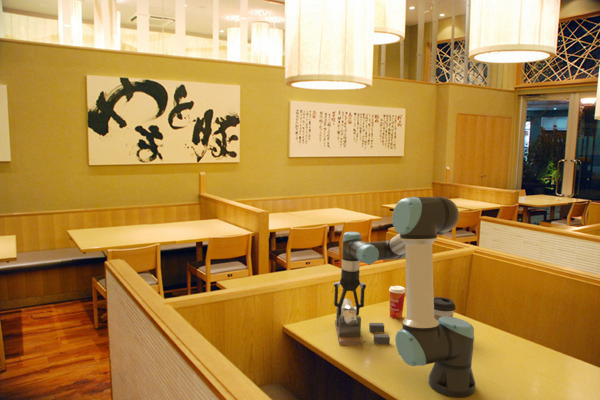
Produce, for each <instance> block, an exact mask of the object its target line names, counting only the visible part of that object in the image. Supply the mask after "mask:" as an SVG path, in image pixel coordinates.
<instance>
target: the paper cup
mask: <svg viewBox="0 0 600 400" xmlns="http://www.w3.org/2000/svg"><path fill="white" fill-rule="evenodd" d="M388 291H389V317H390V318H391V317H392V318H391V319H394V318H396V319H395V320H400V319H402V317H403V311H404V305H405V304H404V303H405V295H406V287H403V286H401V285H391V286H390V287H389V289H388ZM399 318H400V319H399Z"/></svg>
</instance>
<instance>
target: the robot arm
mask: <svg viewBox="0 0 600 400" xmlns="http://www.w3.org/2000/svg"><path fill="white" fill-rule="evenodd" d="M391 215H392V217H391V220H392V221H391V223H392V227H394V228H393V229H394V231H395V232H396V233H397V234H396V235H394V236H393V237H392V238H390V239H388V240H382V241H368V242H367V241H366V242H365V241H363V240H362V233H360V232H357V231H346V232H344V233H343V234H342V235H343V236H342V241H341V242H342V246H341V247H342V248H341V249H342V250H341V272H340V280H339V281H337V282H336V281H334V282H333V285H334V298H333V300H334V301H333V305H334V307H336V308H337V307H338V314H339V315H340V316H342V318H343V306H342V304H343V301H344V299H346V298H345V296H346V294H347V292H352V295H353V298H354V302H355V306H353V308H354V311H355V314H356V316H360V315H359V314H360V308H364V307H365V291H366V288H367V285H366V283H365V282H361V281H360V268H361V263H363V264H367V265H373V264H374V263H376V262H378V261H386V260H387V261H388V260H399V259H404V258H405V286H406V287H405V291H406V292H405V295H406V317H405V318H404V319H403V320H402V329H399V330H398V331H397V332H396V334H395V336H394V337H395V346H396V350H397V352H398V354H399V356H400V358H401V359H402V360H403V362H404V363H405V364H407V365H408V366H411V367H419V366H426V365H429V364H433V366H432V367H431V370H430V372H429V375H428V384H429V387H431V389H433V390H434V391H436V392H437V393H440V394H442V395H445V396H447V397H453V398H467V397H470V396H472V395H473V394H475V392H476V380H475V376H474V373H473V369H472V363H473V355H474V354H473V351H474V343H475V342H474V341H475V328H474V326H473V325H472V324H471V323H470V322H469V321H467V320H464V319H461V318H458V317H454V316H453V317H448V316H443V317H440V318H439V320H438V321H437V320H436V319H435V318H434V298H435V296H434V294H435V293H434V263H433V257H434V256H433V255H434V254H433V243H434V242H436V240H437V239H438V236H442V235H444V234H446V233H448V232H450V231H451V230H453V229H454V228H455V227H456V226H457V224H458V222H459V219H460V212H459V208H458V206H457V205H456V203H455V202H453V200H451V199H450V198H447V197H445V196H413V197H404V198H402V199H400V200H399V201H398V202H397V203H396V205H395V206H394V209H393V212H392V214H391ZM340 286H341V287H342V291H341V295H340V298H339V288H340ZM358 287H360V296H359V297H360V299H358V294H357V293H358V292H357V289H358ZM338 300H339V301H338ZM359 300H360V301H359ZM342 323H343V321H342ZM355 324H356V323H355Z"/></svg>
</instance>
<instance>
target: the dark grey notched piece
mask: <svg viewBox="0 0 600 400" xmlns="http://www.w3.org/2000/svg"><path fill="white" fill-rule="evenodd" d="M335 313H336V318H335V320H334V326H335V329H336V335H337V340H338V344H339V346H362V344H363V340H362V337H361V333H362V332H361V331H362V330H361V329H362V325H361V324H362V317H361V316H360V315H358V316H357V322H356V324H354V325H348V324H346V322H345V320H344V315H343V318H342V316H340V315H339V314H338V307H336V312H335ZM342 321H343V323H342Z"/></svg>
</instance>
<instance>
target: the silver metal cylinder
mask: <svg viewBox="0 0 600 400" xmlns="http://www.w3.org/2000/svg"><path fill="white" fill-rule="evenodd" d="M342 306H343V315H344V320H345V322H346V324H348V325H354V324H355V323H356V322H357V316H356V314H355V311H354V305H353V303H352V300H351V299H350V298H344V301H343V304H342Z"/></svg>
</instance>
